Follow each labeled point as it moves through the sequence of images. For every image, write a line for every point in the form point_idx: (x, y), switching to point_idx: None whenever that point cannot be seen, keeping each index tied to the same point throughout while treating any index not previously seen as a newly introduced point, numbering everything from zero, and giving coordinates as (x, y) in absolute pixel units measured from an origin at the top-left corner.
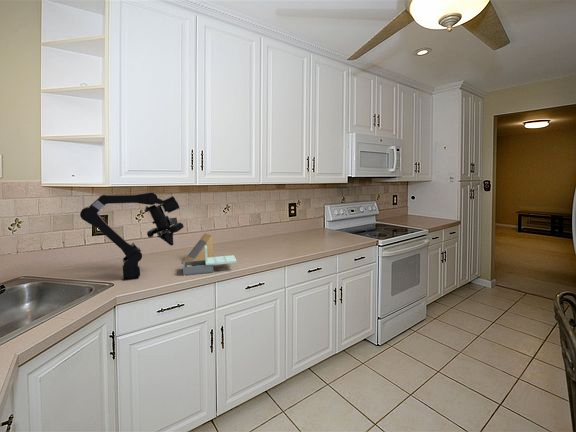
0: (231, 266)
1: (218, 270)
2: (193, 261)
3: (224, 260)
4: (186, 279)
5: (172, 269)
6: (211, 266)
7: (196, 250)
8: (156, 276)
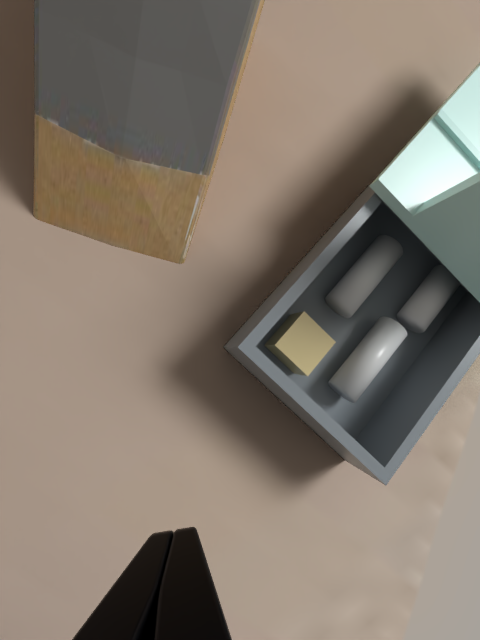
0: None
1: None
2: (310, 281)
3: None
4: (425, 501)
5: (125, 400)
6: None
7: (166, 38)
8: None
